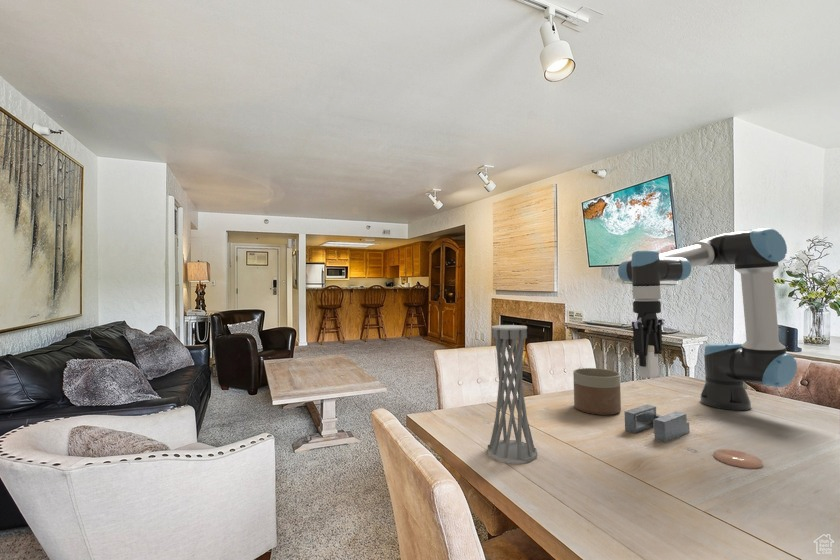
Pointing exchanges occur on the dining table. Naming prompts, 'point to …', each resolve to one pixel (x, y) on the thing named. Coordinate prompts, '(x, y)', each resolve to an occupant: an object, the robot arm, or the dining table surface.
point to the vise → (656, 423)
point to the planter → (597, 391)
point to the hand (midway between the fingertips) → (649, 375)
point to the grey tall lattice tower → (510, 448)
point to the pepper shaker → (653, 362)
